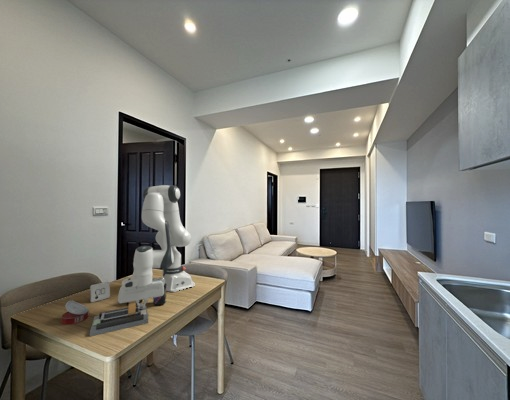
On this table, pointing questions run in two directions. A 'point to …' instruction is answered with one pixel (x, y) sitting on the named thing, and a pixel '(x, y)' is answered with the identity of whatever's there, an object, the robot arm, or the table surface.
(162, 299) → the supplement container
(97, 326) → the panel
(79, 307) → the canned food
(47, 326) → the table surface
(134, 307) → the toggle
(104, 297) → the electrical switch
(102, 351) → the table surface
